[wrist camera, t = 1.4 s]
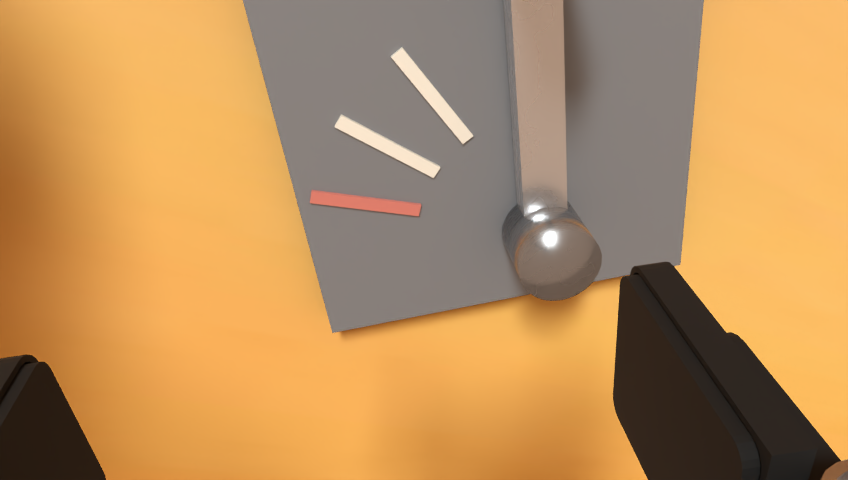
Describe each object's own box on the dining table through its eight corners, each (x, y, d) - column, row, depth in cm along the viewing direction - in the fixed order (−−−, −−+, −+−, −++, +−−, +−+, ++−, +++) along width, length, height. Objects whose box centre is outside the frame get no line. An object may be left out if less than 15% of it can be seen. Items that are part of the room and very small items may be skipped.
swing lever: (577, 252, 40) (627, 333, 33) (504, 266, 40) (540, 350, 33) (572, -124, 29) (644, -111, 23) (473, -108, 29) (518, -90, 23)
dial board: (225, -82, 30) (221, -78, 28) (701, -160, 31) (720, -160, 30) (331, 317, 42) (332, 334, 41) (669, 251, 43) (681, 266, 42)
